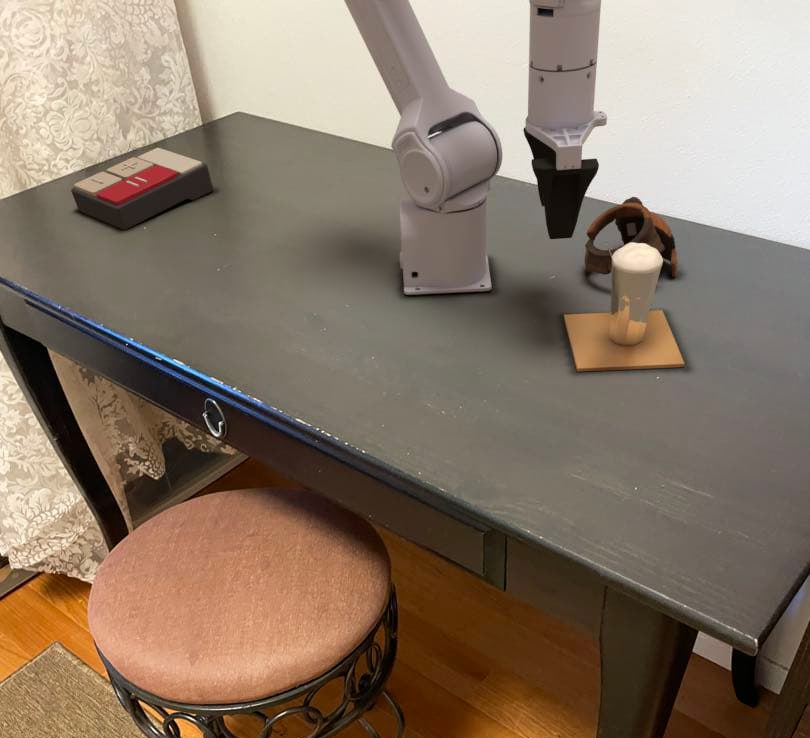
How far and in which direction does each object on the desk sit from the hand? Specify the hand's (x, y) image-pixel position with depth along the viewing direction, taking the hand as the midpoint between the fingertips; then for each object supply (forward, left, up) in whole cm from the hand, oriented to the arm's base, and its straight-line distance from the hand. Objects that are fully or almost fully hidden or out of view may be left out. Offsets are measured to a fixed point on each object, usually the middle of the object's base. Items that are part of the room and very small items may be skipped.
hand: (556, 220), depth 81 cm
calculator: (-51, +35, -10) cm, 62 cm away
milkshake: (+6, -6, -10) cm, 13 cm away
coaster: (+6, -6, -10) cm, 13 cm away
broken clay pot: (+10, +9, -10) cm, 17 cm away
